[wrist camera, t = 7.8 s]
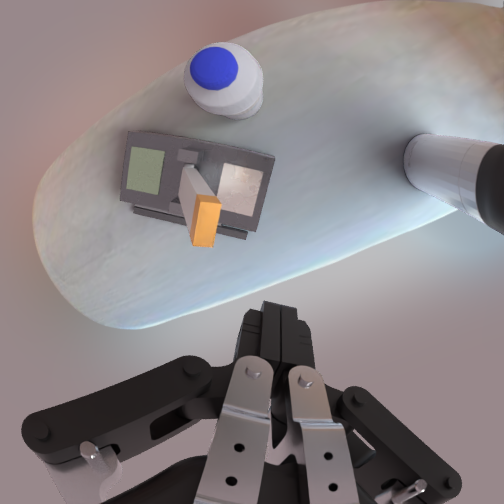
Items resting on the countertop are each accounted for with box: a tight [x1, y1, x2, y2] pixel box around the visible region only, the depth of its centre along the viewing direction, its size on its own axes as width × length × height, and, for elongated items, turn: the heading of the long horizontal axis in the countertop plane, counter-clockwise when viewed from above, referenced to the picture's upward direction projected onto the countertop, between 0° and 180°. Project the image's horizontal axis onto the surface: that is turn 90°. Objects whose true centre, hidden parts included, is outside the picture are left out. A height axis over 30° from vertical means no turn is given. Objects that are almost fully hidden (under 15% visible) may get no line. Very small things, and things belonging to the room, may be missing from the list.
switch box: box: [120, 131, 275, 232], centre depth 34 cm, size 20×10×7 cm, turn 76°
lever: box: [178, 163, 222, 247], centre depth 27 cm, size 2×4×15 cm, turn 167°
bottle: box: [184, 42, 263, 120], centre depth 24 cm, size 7×7×20 cm
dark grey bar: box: [133, 204, 248, 240], centre depth 40 cm, size 18×2×1 cm, turn 76°
